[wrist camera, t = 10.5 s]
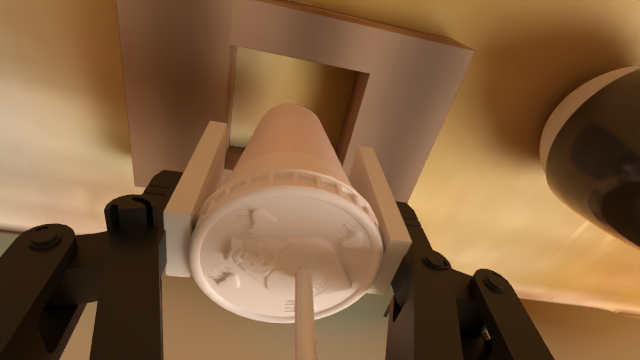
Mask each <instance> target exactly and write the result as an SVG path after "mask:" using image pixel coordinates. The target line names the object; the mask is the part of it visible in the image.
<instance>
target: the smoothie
mask: <svg viewBox="0 0 640 360" xmlns="http://www.w3.org/2000/svg"><path fill="white" fill-rule="evenodd" d="M382 262H383V244H382V240H381V236H380V233H379V226H378V220H377V218H376V216H375V214H374V212H373V210H372V208H371V206H370V205H369V203H368V202H367V201H366V200H365V199H364V198H363V197H362V196H361V195H360V194H359V193H358V192H357V191H356V190H355V189H354V188H353V187H352V185H351V184H350V182H349V180H348V178H347V176H346V174H345V172H344V170H343V168H342V165H341V163H340V161H339V159H338V157H337V155H336V153H335V151H334V149H333V147H332V145H331V143H330V141H329V139H328V137H327V134H326V132H325V130H324V128H323V126H322V124H321V122H320V120H319V119H318V117H317V116H316V115H315V114H314V113H313V112H312V111H311V110H309V109H308V108H306V107H303V106H301V105H297V104H283V105H279V106H276V107H274V108H272V109H271V110H269V111H268V112H267V113H266V114H265V115H264V116H263V118H262V119H261V121H260V123H259V124H258V126H257V128H256V130H255V132H254V133H253V135H252V137H251V139H250V141H249V142H248V144H247V146H246V148H245V150H244V151H243V153H242V155H241V157H240V159H239V160H238V162H237V164H236V166H235V168H234V169H233V171H232V173H231V175H230V177H229V178H228V180H227V182H226V183H225V184H224V185H223V186H222V187H221V188H220V189H218V190H217V191H216V192H215V193H214V194H212V195H211V196H210V197H209V198H208V199H207V200H206V201H205V203H204V204H203V206H202V208H201V209H200V211H199V213H198V214H197V216H196V218H195V229H194V231H193V233H192V236H191V239H190V242H189V247H188V263H189V268H190V271H191V274H192V276H193V278H194V280H195V281H196V283H197V285H198V286H199V287H200V288H201V290H202V291H203V292H204V293H205V294H206V295H207V296H208V297H209V298H210V299H211V300H213V301H214V302H216V303H217V304H219V305H220V306H222V307H223V308H225V309H227V310H229V311H231V312H233V313H236V314H237V315H240V316H243V317H247V318H250V319H253V320H259V321H265V322H273V323H293V322H294V323H295V360H317V358H316V341H315V323H314V322H315V321H314V320H315V319H319V318H322V317H325V316H328V315H331V314H334V313H336V312H338V311H340V310H342V309H344V308H346V307H348V306H349V305H351V304H352V303H354V302H355V301H357V300H358V299H359V298H360V297H361V296H363V295H364V294H365V293H366V292H367V291H368V290H369V289H370V287H371V286H372V285H373V283H374V282H375V280H376V278H377V277H378V274H379V272H380V270H381V267H382Z"/></svg>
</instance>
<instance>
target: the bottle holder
mask: <svg viewBox="0 0 640 360" xmlns="http://www.w3.org/2000/svg"><path fill="white" fill-rule="evenodd" d="M116 5H117V15H118V25H119V35H120V45H121V55H122V65H123V75H124V84H125V94H126V104H127V114H128V124H129V134H130V144H131V154H132V164H133V173H134V183H135V186H138V187H147V186H148V184H149V183H150V181H151V179H152V178H153V176H155V175H156V174H158V173H159V172H161V171H163V170H170V171H177V172H184V171H185V169H186V167H187V165H188V163H189V161H190V159H191V157H192V155H193V153H194V151H195V149H196V147H197V145H198V143H199V142H200V140H201V138H202V136H203V134H204V132H205V130H206V128H207V126H208V124H209V122H210V121H215V122H221V123H227V134H226V147H225V161H224V174H223V177H222V180H221V183H220V186H219V189H220V188H221V187H222V186H223V185H224V184H225V183H226V182H227V180H228V178H229V177H230V175H231V173H232V171H233V169H234V168H235V166H236V164H237V162H238V160H239V159H240V157H241V155H242V153H243V151H244V150H245V148H239V147H233V146H229V142H230V129H231V116H232V103H233V90H234V78H235V65H236V52H237V46H239V47H244V48H249V49H253V50H258V51H263V52H268V53H273V54H278V55H283V56H287V57H292V58H297V59H302V60H307V61H312V62H316V63H321V64H326V65H331V66H336V67H341V68H345V69H350V70H355V71H358V72H357V76H356V80H355V83H354V87H353V90H352V94H351V98H350V101H349V105H348V109H347V112H346V116H345V120H344V123H343V127H342V131H341V134H340V138H339V141H338V145H337V149H336V152H335V153H336V155H337V157H338V159H339V161H340V163H341V165H342V168H343V170H344V172H345V174H346V176H347V178H348V177H349V174H350V171H351V168H352V164H353V161H354V158H355V155H356V152H357V148H358V145H359V146H365V147H371V148H373V149H374V151H375V154H376V156H377V159H378V161H379V163H380V166H381V168H382V171H383V173H384V175H385V178H386V180H387V183H388V185H389V187H390V190H391V192H392V195H393V197H394V199H395V201H398V202H405V203H407V202H408V200H409V198H410V196H411V194H412V191H413V189H414V187H415V185H416V182H417V180H418V178H419V176H420V173H421V171H422V169H423V167H424V165H425V162H426V160H427V158H428V156H429V153H430V151H431V149H432V147H433V145H434V142H435V140H436V138H437V136H438V133H439V131H440V129H441V127H442V124H443V122H444V120H445V118H446V116H447V113H448V111H449V109H450V107H451V104H452V102H453V100H454V98H455V96H456V93H457V91H458V89H459V87H460V84H461V82H462V80H463V78H464V75H465V73H466V71H467V69H468V67H469V64H470V62H471V60H472V58H473V55H474V53H475V51H474V50H472V49H470V48H468V47H466V46H464V45H462V44H460V43H459V42H457V41H455V40H452V39H448V38H444V37H440V36H435V35H431V34H427V33H423V32H418V31H414V30H410V29H406V28H401V27H397V26H393V25H389V24H384V23H380V22H376V21H372V20H367V19H363V18H359V17H355V16H350V15H346V14H342V13H338V12H333V11H329V10H325V9H321V8H316V7H312V6H308V5H304V4H299V3H295V2H291V1H287V0H116Z"/></svg>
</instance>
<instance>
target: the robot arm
mask: <svg viewBox="0 0 640 360" xmlns="http://www.w3.org/2000/svg"><path fill="white" fill-rule="evenodd" d="M226 134H227V123H221V122H215V121H210V122H209V124H208V126H207V128H206V130H205V132H204V134H203V136H202V138H201V140H200V142H199V143H198V145H197V147H196V149H195V151H194V153H193V155H192V157H191V159H190V161H189V163H188V165H187V167H186V169H185V171H184V172H177V171H170V170H163V171H161V172H159V173H158V174H156V175H155V176H153V178H152V179H151V181H150V183H149V184H148V186H147V187H146V189H145V190H144V193H143V194H142V195H134V194H132V195H125V196H121V197H118V198H116V199H113V200H112V201H111V202H109V203H108V204H107V205H106V207H105V209H104V213H105V219H106V225H107V231H105V232H100V233H94V234H85V235H76V236H75V233H74V231H73V229H72V228H70V227H68V226H67V225H62V224H45V225H41V226H37V227H33V228H31V229H29V230H27V231H25V232H23V233H22V234H21V235H20V236H19V237H17V238H16V239H15V240H14V242H13V243H12V244H11V245H10V247H9V248H8V249H7V250H6V251H5V252H4V253H3V255H2V256H1V257H0V360H59V359H60V357H61V355H62V353H63V351H64V349H65V347H66V345H67V343H68V341H69V339H70V337H71V335H72V333H73V331H74V329H75V327H76V325H77V323H78V321H79V319H80V316H81V315H82V312H83V311H84V309H85V307H86V305H87V303H89V302H95V301H98V303H97V311H96V317H95V324H94V331H93V338H92V345H91V352H90V360H163V321H162V283H161V276H162V273H163V271H164V268H165V266H166V275H169V276H179V277H190V275H191V271H190V268H189V263H188V247H189V242H190V239H191V236H192V233H193V231H194V229H195V218H196V216H197V214H198V213H199V211H200V209H201V208H202V206H203V204H204V203H205V201H206V200H207V199H208V198H209V197H210V196H211V195H212V194H214V193H215V192H216V191H217V190H218V189H219V186H220V183H221V180H222V177H223V174H224V161H225V147H226ZM348 180H349V182H350V184H351V185H352V187H353V188H354V189H355V190H356V191H357V192H358V193H359V194H360V195H361V196H362V197H363V198H364V199H365V200H366V201H367V202H368V203H369V205H370V206H371V208H372V210H373V212H374V214H375V216H376V218H377V220H378V226H379V233H380V236H381V240H382V244H383V262H382V267H381V270H380V272H379V274H378V277H377V278H376V280H375V282H374V283H373V285H372V286H371V287H370V289H369V290H368V291H367V293H373V294H383V295H386V294H387V292H388V290H389V287H390V286H391V285H392V288H393V291H394V295H393V297H392V299H391V301H390V303H389V305H388V307H387V309H386V311H385V314H384V316H385V317H387V315H388V313H389V322H388V334H387V345H386V357H385V360H554V358H553V356H552V355H551V353H550V351H549V349H548V348H547V346H546V344H545V343H544V341H543V339H542V337H541V336H540V334H539V332H538V331H537V329H536V327H535V326H534V324H533V322H532V320H531V319H530V317H529V315H528V313H527V312H526V310H525V308H524V307H523V305H522V303H521V301H520V300H519V298H518V296H517V294H516V293H515V291H514V289H513V288H512V286H511V285H510V284H509V282H508V281H507V280H506V279H505V278H504V277H502V276H501V275H500V274H498V273H496V272H494V271H491V270H488V269H479V270H477V271H476V272H475V273H474V275H473V276H470V275H467V274H464V273H462V272H459V271H456V270H454V269H452V268H451V265H450V263H449V261H448V260H447V259H446V258H445V257H444V256H443V255H441V254H440V253H438V252H436V251H434V250H432V247H431V245H430V243H429V241H428V239H427V237H426V235H425V233H424V231H423V228H421V224H420V222H419V221H418V218H417V216H416V214H415V212H414V210H413V209H412V208H411V207H410V206H409V205H408V204H407V203H405V202H398V201H395V199H394V197H393V195H392V192H391V190H390V187H389V185H388V183H387V180H386V178H385V175H384V173H383V171H382V168H381V166H380V163H379V161H378V159H377V156H376V154H375V151H374V149H373V148H371V147H365V146H359V145H358V148H357V152H356V155H355V158H354V161H353V164H352V168H351V171H350V174H349V177H348ZM486 330H487V331H488V333H489V335H490V338H491V339H489V337H488V336H487V333H486Z"/></svg>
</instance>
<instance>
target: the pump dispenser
mask: <svg viewBox="0 0 640 360" xmlns="http://www.w3.org/2000/svg"><path fill="white" fill-rule="evenodd" d="M540 160H541V164H542V167H543V170H544V172H545V174H546V179H547V183H548V185H549V188H550V189H551V191H552V192H553V194H554V195H555V196H556V197H557V198H558V199H559V200H560V201H561V202H563V203H564V204H565V205H566V206H567V207H569V208H570V209H571V210H573V211H574V212H576V213H577V214H578V215H580V216H581V217H583V218H585V219H586V220H588V221H589V222H591V223H592V224H594V225H595V226H597V227H599V228H600V229H602V230H603V231H605V232H607V233H608V234H610V235H612V236H613V237H615V238H617V239H619V240H620V241H622V242H624V243H626V244H628V245H630V246H632V247H633V248H635V249H637V250H639V251H640V65H637V66H630V67H625V68H620V69H617V70H613V71H610V72H607V73H605V74H602V75H600V76H598V77H595V78H593V79H591V80H590V81H588V82H586V83H584V84H583V85H581V86H580V87H578V88H577V89H575V90H574V91H573V92H571V93H570V94H569V95H568V96H567V97H566V98H565V99H564V100H563V101H562V102H561V103H560V104H559V105H558V106H557V107H556V108H555V110H554V111H553V113H552V114H551V115H550V117H549V119H548V121H547V122H546V124H545V127H544V129H543V132H542V135H541V140H540Z"/></svg>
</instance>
